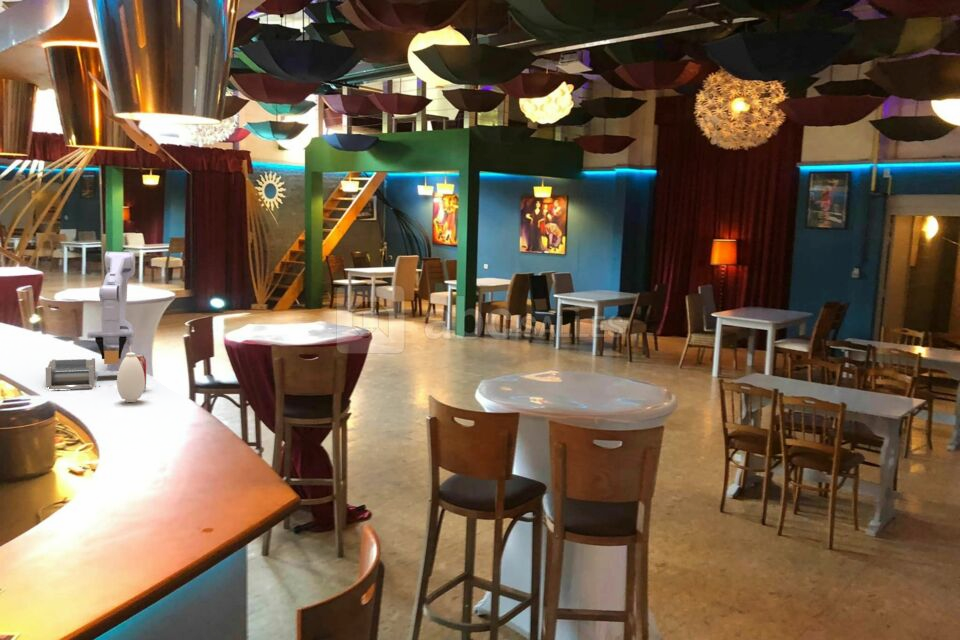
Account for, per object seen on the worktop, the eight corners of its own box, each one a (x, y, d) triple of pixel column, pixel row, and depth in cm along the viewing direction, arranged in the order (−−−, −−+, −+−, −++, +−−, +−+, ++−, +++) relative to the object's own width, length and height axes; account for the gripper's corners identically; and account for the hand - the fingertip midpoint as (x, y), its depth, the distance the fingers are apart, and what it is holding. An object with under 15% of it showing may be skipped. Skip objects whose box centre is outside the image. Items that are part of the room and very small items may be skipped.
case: (51, 375, 273) (51, 355, 272) (96, 373, 279) (95, 354, 278) (46, 389, 252) (45, 367, 251) (94, 387, 258) (94, 366, 257)
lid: (50, 363, 265) (50, 355, 265) (94, 361, 271) (94, 354, 271) (46, 371, 252) (46, 363, 252) (93, 369, 258) (93, 361, 257)
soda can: (150, 389, 258) (150, 353, 256) (139, 393, 251) (138, 357, 249) (130, 388, 259) (129, 352, 257) (118, 392, 252) (117, 356, 250)
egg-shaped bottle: (142, 405, 237) (141, 346, 234) (114, 405, 235) (113, 346, 233) (147, 399, 244) (146, 342, 242) (120, 399, 243) (119, 342, 240)
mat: (97, 377, 272) (97, 375, 272) (125, 376, 276) (125, 374, 276) (96, 382, 264) (96, 381, 264) (125, 381, 268) (125, 379, 268)
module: (104, 361, 270) (104, 348, 270) (118, 361, 272) (118, 348, 272) (104, 364, 266) (104, 350, 266) (118, 363, 268) (118, 350, 268)
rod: (48, 391, 249) (48, 386, 249) (49, 390, 250) (48, 385, 250) (93, 389, 254) (93, 384, 254) (93, 388, 256) (93, 383, 256)
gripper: (86, 321, 261) (87, 361, 263) (134, 320, 267) (134, 359, 269) (87, 318, 267) (88, 357, 269) (133, 318, 273) (134, 356, 275)
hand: (111, 358), depth 269 cm, fingers closed on module, 4 cm apart
